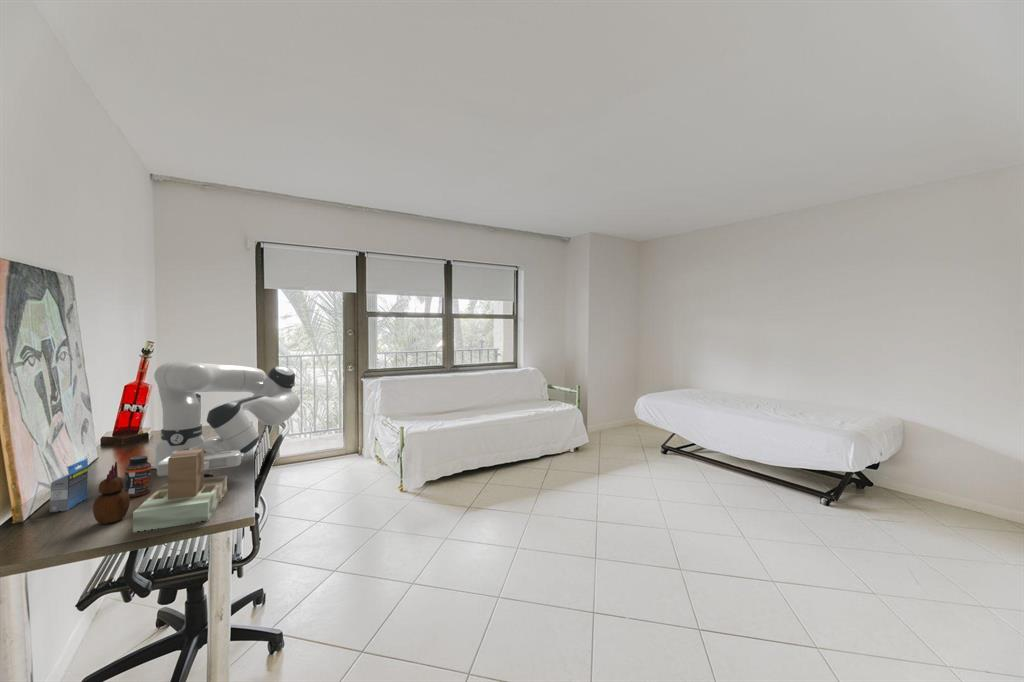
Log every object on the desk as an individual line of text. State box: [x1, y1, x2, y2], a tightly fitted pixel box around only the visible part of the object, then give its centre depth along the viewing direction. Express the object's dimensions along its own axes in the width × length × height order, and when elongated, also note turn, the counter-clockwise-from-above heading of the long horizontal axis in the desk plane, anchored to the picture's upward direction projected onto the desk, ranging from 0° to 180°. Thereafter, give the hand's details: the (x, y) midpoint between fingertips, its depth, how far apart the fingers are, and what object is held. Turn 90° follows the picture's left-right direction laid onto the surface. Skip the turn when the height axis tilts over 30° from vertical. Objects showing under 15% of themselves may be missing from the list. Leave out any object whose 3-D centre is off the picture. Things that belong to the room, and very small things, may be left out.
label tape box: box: [49, 457, 89, 513], centre depth 113 cm, size 9×4×12 cm, turn 22°
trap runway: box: [132, 474, 228, 533], centre depth 112 cm, size 23×15×5 cm, turn 25°
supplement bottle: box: [124, 455, 152, 498], centre depth 122 cm, size 6×6×11 cm
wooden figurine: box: [92, 461, 131, 525], centre depth 104 cm, size 7×6×15 cm
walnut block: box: [167, 448, 205, 500], centre depth 111 cm, size 8×6×11 cm
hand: (194, 470), depth 115 cm, fingers closed, pressing on walnut block
